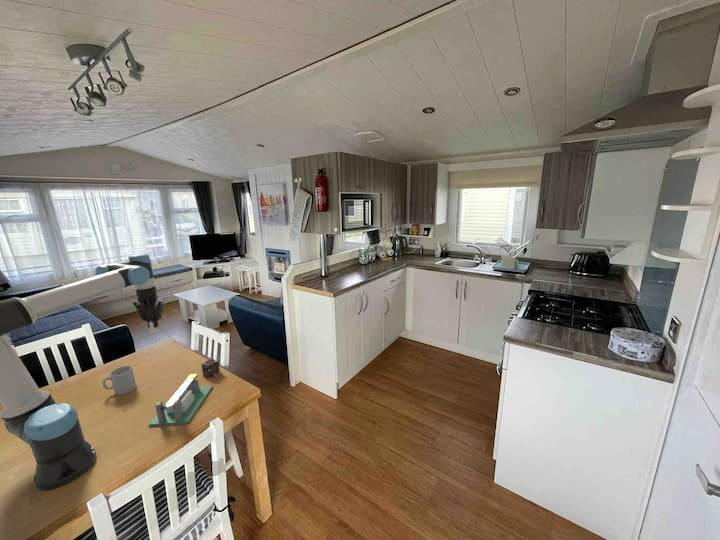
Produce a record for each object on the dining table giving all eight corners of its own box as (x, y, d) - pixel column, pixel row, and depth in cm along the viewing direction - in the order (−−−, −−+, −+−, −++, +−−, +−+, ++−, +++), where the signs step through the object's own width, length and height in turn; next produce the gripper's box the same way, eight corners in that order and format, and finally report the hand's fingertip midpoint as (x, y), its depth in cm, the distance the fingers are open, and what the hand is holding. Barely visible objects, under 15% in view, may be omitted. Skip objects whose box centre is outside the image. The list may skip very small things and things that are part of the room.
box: (202, 376, 150) (200, 364, 148) (211, 370, 156) (209, 358, 154) (211, 378, 148) (209, 366, 147) (220, 371, 154) (218, 360, 152)
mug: (137, 382, 146) (133, 363, 143) (135, 391, 139) (130, 371, 136) (107, 390, 139) (102, 371, 137) (103, 400, 132) (98, 380, 130)
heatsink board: (188, 423, 118) (184, 404, 115) (148, 426, 117) (144, 407, 114) (212, 387, 141) (210, 370, 139) (180, 389, 140) (177, 372, 138)
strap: (173, 410, 117) (173, 407, 117) (161, 410, 117) (160, 407, 116) (199, 376, 138) (198, 373, 138) (188, 376, 138) (188, 374, 138)
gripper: (165, 284, 132) (173, 329, 138) (136, 285, 131) (146, 330, 137) (154, 289, 125) (164, 336, 131) (124, 290, 124) (135, 337, 130)
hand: (154, 333), depth 134 cm, fingers closed
